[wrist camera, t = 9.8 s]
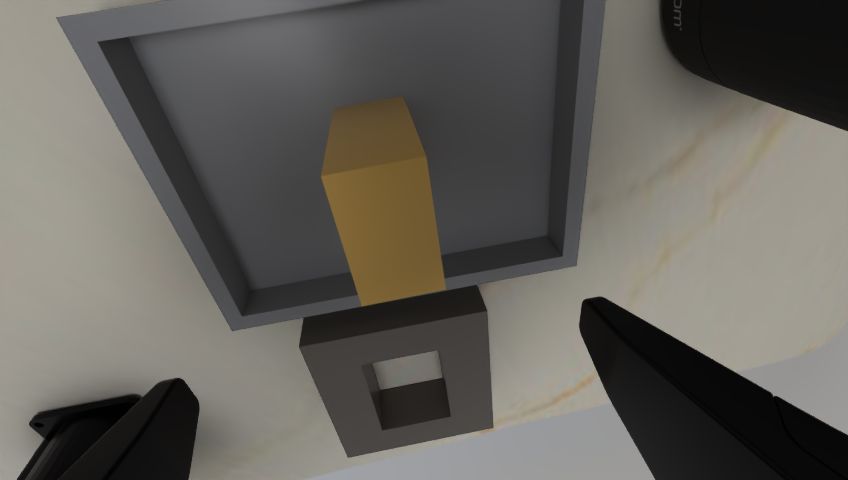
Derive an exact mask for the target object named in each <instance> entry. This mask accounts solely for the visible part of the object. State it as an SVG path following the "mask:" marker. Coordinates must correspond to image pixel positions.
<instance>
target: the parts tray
mask: <svg viewBox="0 0 848 480" xmlns="http://www.w3.org/2000/svg"><path fill="white" fill-rule="evenodd" d="M605 1H606V0H168V1H162V2H155V3H148V4H142V5H135V6H129V7H122V8H115V9H109V10H102V11H96V12H89V13H83V14H76V15H69V16H63V17H56V19H57V20H58V22H59V24H60V26H61V27H62V29H63V31H64V33H65V35H66V36H67V38H68V40H69V42H70V43H71V45H72V47H73V49H74V51H75V52H76V54H77V56H78V58H79V59H80V61H81V63H82V65H83V67H84V68H85V70H86V72H87V74H88V75H89V77H90V79H91V81H92V83H93V84H94V86H95V88H96V90H97V92H98V93H99V95H100V97H101V99H102V100H103V102H104V104H105V106H106V108H107V109H108V111H109V113H110V115H111V116H112V118H113V120H114V122H115V124H116V125H117V127H118V129H119V131H120V132H121V134H122V136H123V138H124V140H125V141H126V143H127V145H128V147H129V148H130V150H131V152H132V154H133V156H134V157H135V159H136V161H137V163H138V164H139V166H140V168H141V170H142V172H143V173H144V175H145V177H146V179H147V180H148V182H149V184H150V186H151V188H152V189H153V191H154V193H155V195H156V196H157V198H158V200H159V202H160V204H161V205H162V207H163V209H164V211H165V212H166V214H167V216H168V218H169V220H170V221H171V223H172V225H173V227H174V228H175V230H176V232H177V234H178V236H179V237H180V239H181V241H182V243H183V244H184V246H185V248H186V250H187V252H188V253H189V255H190V257H191V259H192V261H193V262H194V264H195V266H196V268H197V269H198V271H199V273H200V275H201V277H202V278H203V280H204V282H205V284H206V285H207V287H208V289H209V291H210V293H211V294H212V296H213V298H214V300H215V301H216V303H217V305H218V307H219V309H220V310H221V312H222V314H223V316H224V317H225V319H226V321H227V323H228V325H229V326H230V328H231V330H232V331H235V330H240V329H246V328H251V327H256V326H261V325H267V324H272V323H277V322H282V321H288V320H293V319H298V318H304V317H309V316H314V315H319V314H325V313H330V312H335V311H341V310H346V309H351V308H356V307H362V306H361V302H360V299H359V296H358V293H357V290H356V286H355V283H354V280H353V277H352V274H351V271H350V267H349V264H348V261H347V258H346V255H345V251H344V248H343V245H342V242H341V239H340V235H339V232H338V229H337V226H336V223H335V220H334V216H333V213H332V210H331V207H330V204H329V200H328V197H327V194H326V191H325V188H324V184H323V181H322V178H321V173H322V168H323V163H324V157H325V152H326V147H327V141H328V136H329V131H330V125H331V120H332V115H333V109H336V108H341V107H346V106H352V105H357V104H363V103H368V102H373V101H379V100H384V99H390V98H395V97H401V96H403V97H404V100H405V102H406V105H407V107H408V110H409V113H410V115H411V118H412V120H413V123H414V126H415V128H416V131H417V133H418V136H419V139H420V141H421V144H422V146H423V149H424V152H425V154H426V158H427V164H428V171H429V178H430V185H431V191H432V198H433V205H434V212H435V218H436V225H437V232H438V239H439V245H440V252H441V259H442V266H443V272H444V279H445V286H446V290H451V289H457V288H462V287H467V286H472V285H478V284H483V283H488V282H494V281H499V280H504V279H509V278H515V277H520V276H525V275H530V274H536V273H541V272H546V271H552V270H557V269H562V268H567V267H573V266H577V258H578V249H579V239H580V230H581V221H582V212H583V203H584V193H585V184H586V175H587V166H588V157H589V148H590V138H591V129H592V120H593V111H594V102H595V93H596V83H597V74H598V65H599V56H600V47H601V38H602V28H603V19H604V10H605ZM446 290H441V291H446ZM441 291H436V292H441ZM436 292H431V293H436ZM426 294H430V293H426ZM421 295H425V294H421ZM416 296H420V295H416ZM411 297H414V296H411ZM406 298H409V297H406ZM401 299H404V298H401ZM396 300H399V299H396ZM391 301H393V300H391ZM386 302H388V301H386ZM381 303H383V302H381ZM376 304H377V303H376Z"/></svg>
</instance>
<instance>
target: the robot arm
mask: <svg viewBox="0 0 848 480" xmlns="http://www.w3.org/2000/svg"><path fill="white" fill-rule="evenodd" d="M579 328H580V333H581V336H582V338H583V340H584V343H585V345H586V347H587V349H588V352H589V354H590V356H591V359H592V361H593V363H594V366H595V368H596V370H597V372H598V375H599V377H600V379H601V382H602V384H603V386H604V388H605V390H606V393H607V395H608V397H609V399H610V400H611V402H612V404H613V406H614V408H615V409H616V411H617V413H618V415H619V416H620V418H621V420H622V422H623V423H624V425H625V427H626V428H627V431H628V432H629V434H630V436H631V438H632V439H633V441H634V443H635V445H636V446H637V448H638V450H639V452H640V453H641V455H642V457H643V458H644V460H645V462H646V464H647V466H648V467H649V469H650V471H651V473H652V474H653V476H654V478H655V480H848V435H847V434H845V433H843V432H841V431H839V430H837V429H835V428H833V427H831V426H830V425H828V424H826V423H824V422H822V421H821V420H819V419H817V418H815V417H814V416H812V415H810V414H808V413H806V412H804V411H803V410H801V409H799V408H797V407H795V406H793V405H792V404H790V403H788V402H787V401H785V400H783V399H781V398H780V397H778V396H774V397H773V395H772V393H771V392H769V391H767V390H765V389H764V388H762V387H760V386H758V385H757V384H755V383H753V382H751V381H750V380H748V379H746V378H744V377H743V376H740V375H739V374H737V373H736V372H734V371H732V370H730V369H729V368H727V367H725V366H723V365H722V364H720V363H718V362H716V361H715V360H713V359H711V358H709V357H708V356H706V355H704V354H702V353H701V352H699V351H697V350H695V349H694V348H692V347H690V346H688V345H687V344H685V343H683V342H681V341H679V340H678V339H676V338H674V337H672V336H671V335H669V334H667V333H665V332H664V331H662V330H660V329H658V328H657V327H655V326H653V325H651V324H650V323H648V322H646V321H644V320H643V319H641V318H639V317H637V316H636V315H634V314H632V313H630V312H629V311H627V310H625V309H623V308H622V307H620V306H618V305H616V304H615V303H613V302H611V301H609V300H608V299H606V298H604V297H594V298H589V299H585V300H584V301H583V302H582V307H581V315H580V323H579ZM198 416H199V402H198V399H197V398H196V396H195V395H194V394H193V392H192V391H191V389H190V388H189V387H188V385H187V384H186V383H185V381H184V380H183V379H181V378H174V379H169V380H164V381H161V382H159V383H157V384H156V385H155V386H154V387H153V388H152V389H151V390H150V391H149V392H148V393H147V394H146V395H145V396H144V397H143V398H142V399H141V400H140V399H139V398H137V397H125V398H120V399H114V400H109V401H104V402H99V403H94V404H89V405H84V406H79V407H73V408H68V409H63V410H58V411H53V412H48V413H43V414H38V415H35V416H34V417H33V418H32V420H31V421H30V422H29V425H30V427H32V428H33V429H34V430H35V431H36V432H38V433H39V434H40V435H41V436H42V437H43V438H45V439H44V440H43V442H42V443H41V445H40V446H39V448H38V449H37V450H36V452H35V453H34V455H33V456H32V458H31V459H30V461H29V462H28V464H27V465H26V467H25V468H24V470H23V471H22V472H21V474H20V475H19V477H18V478H17V480H188V479H189V474H190V468H191V462H192V455H193V449H194V442H195V436H196V429H197V423H198Z"/></svg>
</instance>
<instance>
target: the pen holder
mask: <svg viewBox="0 0 848 480" xmlns="http://www.w3.org/2000/svg"><path fill="white" fill-rule="evenodd" d="M664 20H665V29H666V33H667V37H668V41H669V43H670V46H671V48H672V51H673V52H674V54H675V55H676V57H677V59H678V60H679V61H680V62H681V63H682V64H683V65H684V67H686V68H687V69H688V70H690V71H691V72H692V73H694V74H696V75H698V76H700V77H702V78H704V79H706V80H709V81H711V82H714V83H717V84H719V85H722V86H724V87H727V88H730V89H732V90H735V91H738V92H740V93H742V94H745V95H748V96H751V97H753V98H756V99H759V100H762V101H765V102H767V103H770V104H773V105H776V106H779V107H781V108H784V109H787V110H790V111H793V112H795V113H798V114H801V115H804V116H807V117H809V118H812V119H815V120H818V121H821V122H823V123H826V124H829V125H832V126H835V127H837V128H840V129H843V130H846V131H848V0H664Z"/></svg>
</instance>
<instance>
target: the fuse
mask: <svg viewBox="0 0 848 480" xmlns="http://www.w3.org/2000/svg"><path fill="white" fill-rule="evenodd" d="M321 178H322V181H323V184H324V188H325V191H326V194H327V197H328V200H329V204H330V207H331V210H332V213H333V216H334V220H335V223H336V226H337V229H338V232H339V235H340V239H341V242H342V245H343V248H344V251H345V255H346V258H347V261H348V264H349V267H350V271H351V274H352V277H353V280H354V283H355V286H356V290H357V293H358V296H359V299H360V302H361V306H367V305H372V304H376V303H381V302H386V301H391V300H396V299H401V298H406V297H411V296H416V295H421V294H426V293H431V292H436V291H441V290H446V286H445V279H444V272H443V266H442V259H441V252H440V245H439V239H438V232H437V225H436V218H435V212H434V205H433V198H432V191H431V185H430V178H429V171H428V164H427V158H426V154H425V152H424V149H423V146H422V144H421V141H420V139H419V136H418V133H417V131H416V128H415V126H414V123H413V120H412V118H411V115H410V113H409V110H408V107H407V105H406V102H405V100H404V97H403V96H401V97H395V98H390V99H384V100H379V101H373V102H368V103H363V104H357V105H352V106H346V107H341V108H336V109H333V115H332V120H331V125H330V131H329V136H328V141H327V147H326V152H325V157H324V163H323V168H322V173H321Z"/></svg>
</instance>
